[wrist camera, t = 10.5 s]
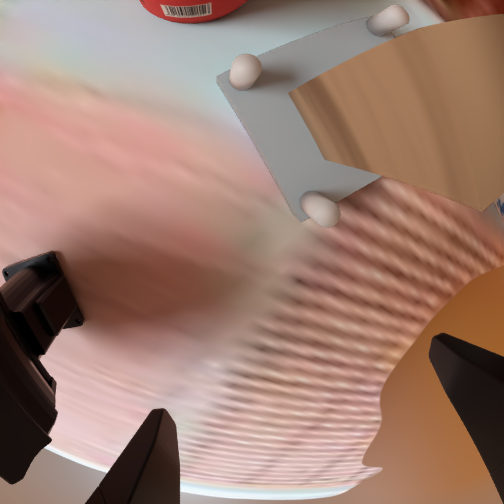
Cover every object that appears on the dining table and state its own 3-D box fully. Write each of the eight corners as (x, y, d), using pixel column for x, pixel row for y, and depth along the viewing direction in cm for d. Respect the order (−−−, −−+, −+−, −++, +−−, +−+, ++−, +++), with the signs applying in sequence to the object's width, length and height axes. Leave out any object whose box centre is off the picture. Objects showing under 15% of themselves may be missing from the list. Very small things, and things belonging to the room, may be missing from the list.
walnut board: (324, 159, 17) (481, 212, 6) (287, 93, 15) (418, 28, 4) (398, 120, 16) (560, 136, 5) (367, 58, 14) (522, 12, 3)
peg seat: (293, 214, 20) (316, 238, 15) (216, 82, 16) (216, 63, 11) (424, 140, 19) (468, 147, 14) (367, 21, 15) (404, 0, 10)
